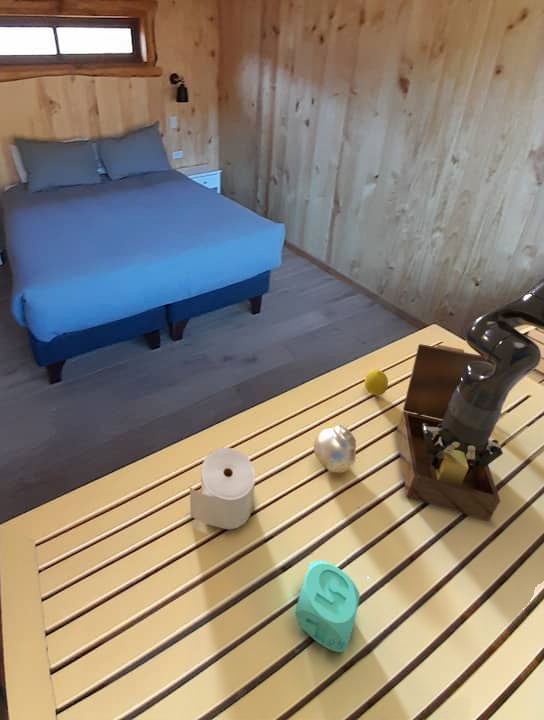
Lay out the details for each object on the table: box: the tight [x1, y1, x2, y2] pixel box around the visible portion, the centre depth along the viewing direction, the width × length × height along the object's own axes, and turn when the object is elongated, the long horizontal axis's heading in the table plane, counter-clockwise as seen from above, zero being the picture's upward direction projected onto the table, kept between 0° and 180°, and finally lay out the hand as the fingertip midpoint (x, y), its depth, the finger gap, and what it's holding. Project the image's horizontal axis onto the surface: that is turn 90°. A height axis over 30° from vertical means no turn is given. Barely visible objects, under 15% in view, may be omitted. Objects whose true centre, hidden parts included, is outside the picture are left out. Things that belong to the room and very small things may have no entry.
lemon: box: [364, 369, 389, 396], centre depth 106 cm, size 6×6×8 cm
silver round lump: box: [313, 424, 357, 474], centre depth 89 cm, size 9×10×10 cm
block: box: [430, 450, 469, 486], centre depth 84 cm, size 4×5×9 cm
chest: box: [396, 410, 501, 522], centre depth 87 cm, size 17×15×7 cm
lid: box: [402, 343, 491, 420], centre depth 92 cm, size 18×15×5 cm
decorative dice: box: [294, 560, 361, 653], centre depth 65 cm, size 8×8×8 cm
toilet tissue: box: [189, 447, 256, 530], centre depth 81 cm, size 11×12×10 cm
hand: (447, 468), depth 84 cm, fingers closed on block, 4 cm apart
